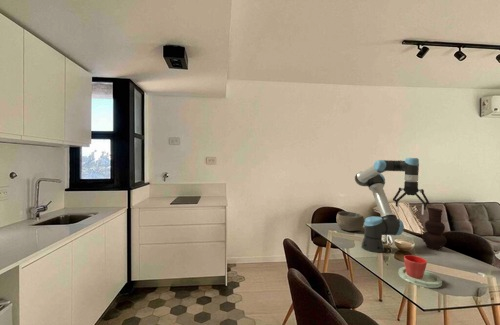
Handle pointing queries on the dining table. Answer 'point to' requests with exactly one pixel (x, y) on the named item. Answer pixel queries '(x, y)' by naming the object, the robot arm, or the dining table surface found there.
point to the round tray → (427, 281)
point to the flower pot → (415, 266)
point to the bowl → (350, 221)
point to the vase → (434, 230)
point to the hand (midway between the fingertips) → (410, 213)
